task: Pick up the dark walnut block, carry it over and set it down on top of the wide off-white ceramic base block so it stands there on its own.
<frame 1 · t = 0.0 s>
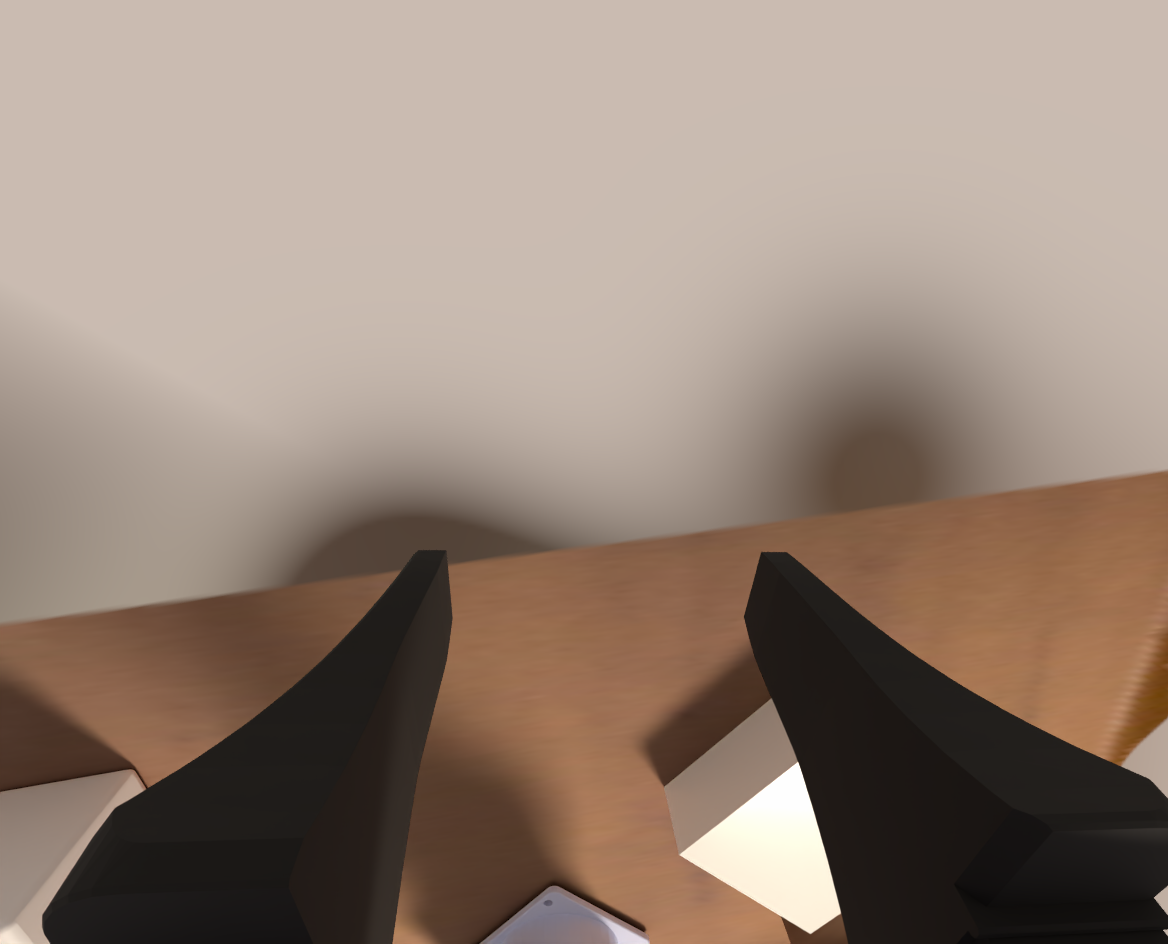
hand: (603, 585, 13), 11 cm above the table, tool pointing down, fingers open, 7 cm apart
walnut block: (831, 912, 35), on the table
medicine bottle: (101, 824, 29), on the table
ceramic base: (790, 769, 31), on the table
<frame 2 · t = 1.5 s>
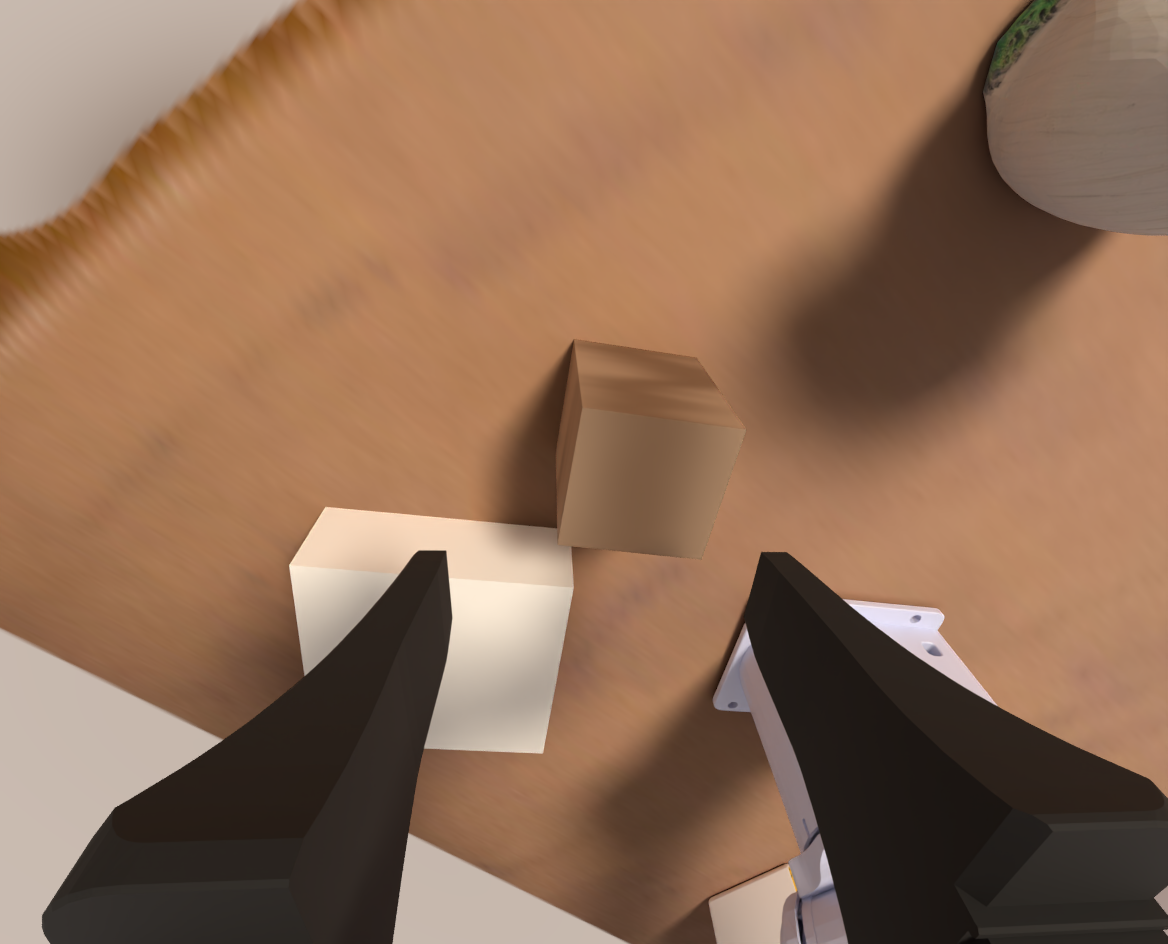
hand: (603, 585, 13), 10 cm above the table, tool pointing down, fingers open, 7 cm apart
walnut block: (623, 405, 21), on the table
medicine bottle: (771, 892, 42), on the table
decorative ornament: (1090, 94, 17), on the table
ceramic base: (448, 602, 26), on the table
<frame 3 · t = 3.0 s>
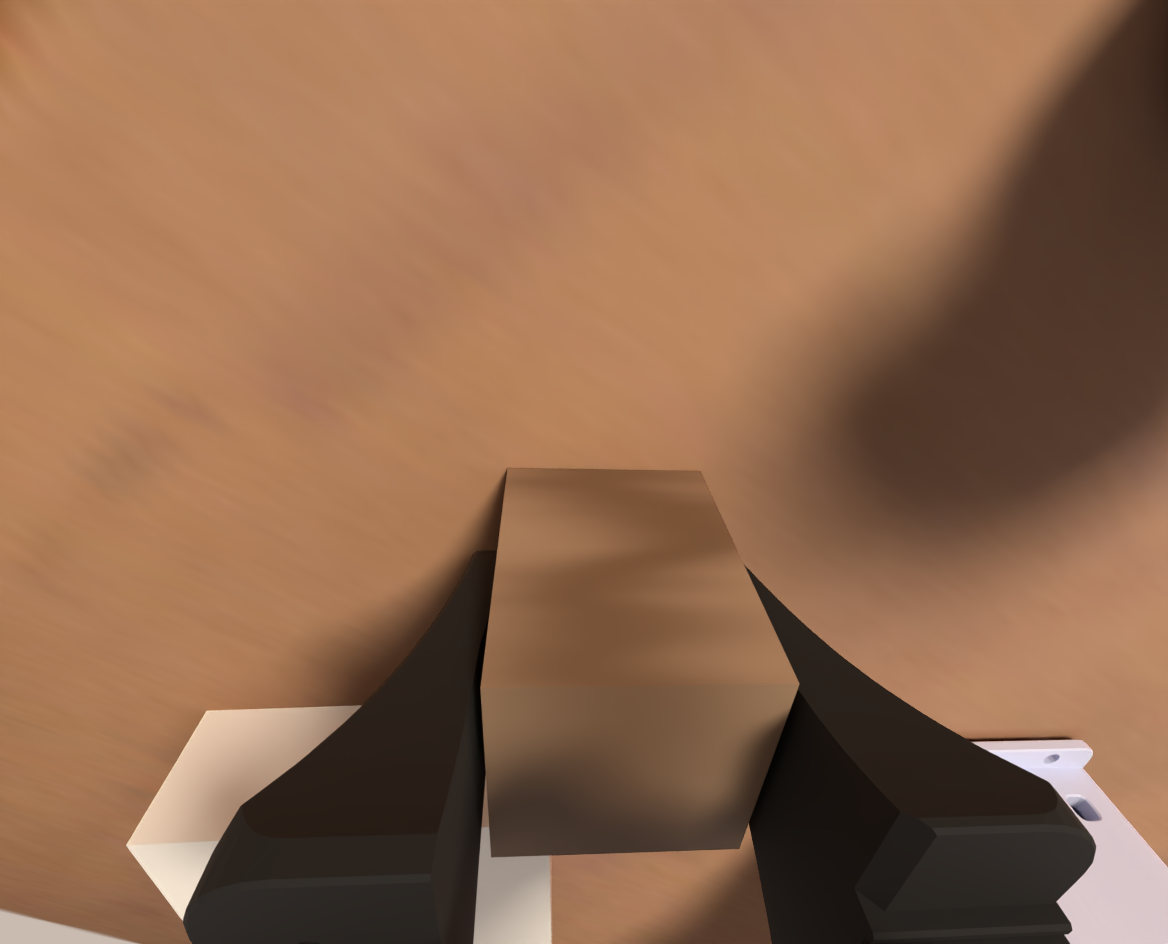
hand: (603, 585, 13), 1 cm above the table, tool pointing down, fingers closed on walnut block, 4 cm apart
walnut block: (598, 546, 14), on the table, touching gripper
ceramic base: (406, 789, 20), on the table
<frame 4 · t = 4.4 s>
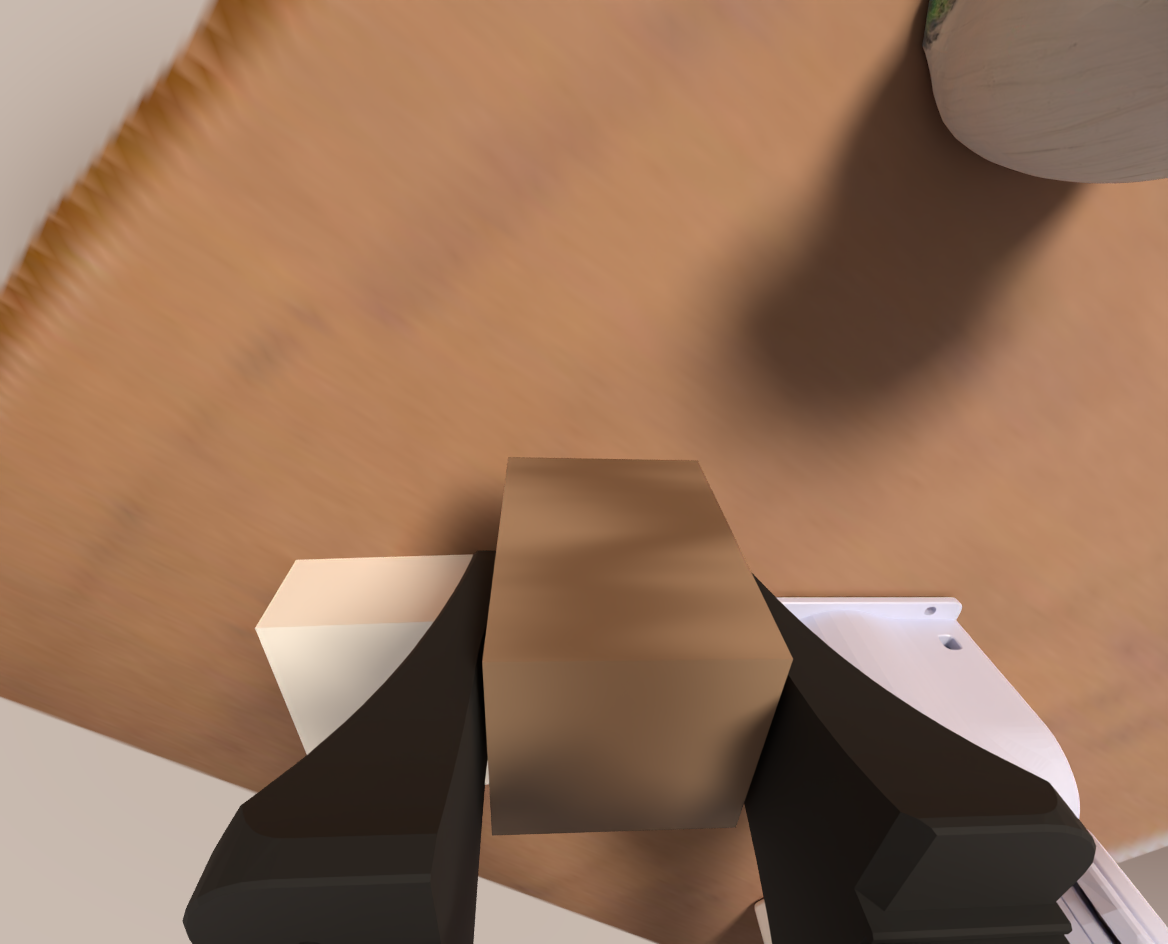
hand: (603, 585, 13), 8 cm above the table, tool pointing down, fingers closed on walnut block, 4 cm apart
walnut block: (597, 536, 14), point 7 cm above the table, touching gripper
medicine bottle: (819, 892, 40), on the table
decorative ornament: (1047, 31, 15), on the table
ceramic base: (439, 637, 26), on the table
when the fingers open (6 cm above the table, at t = 6.0 s): walnut block drops 1 cm, resting on ceramic base.
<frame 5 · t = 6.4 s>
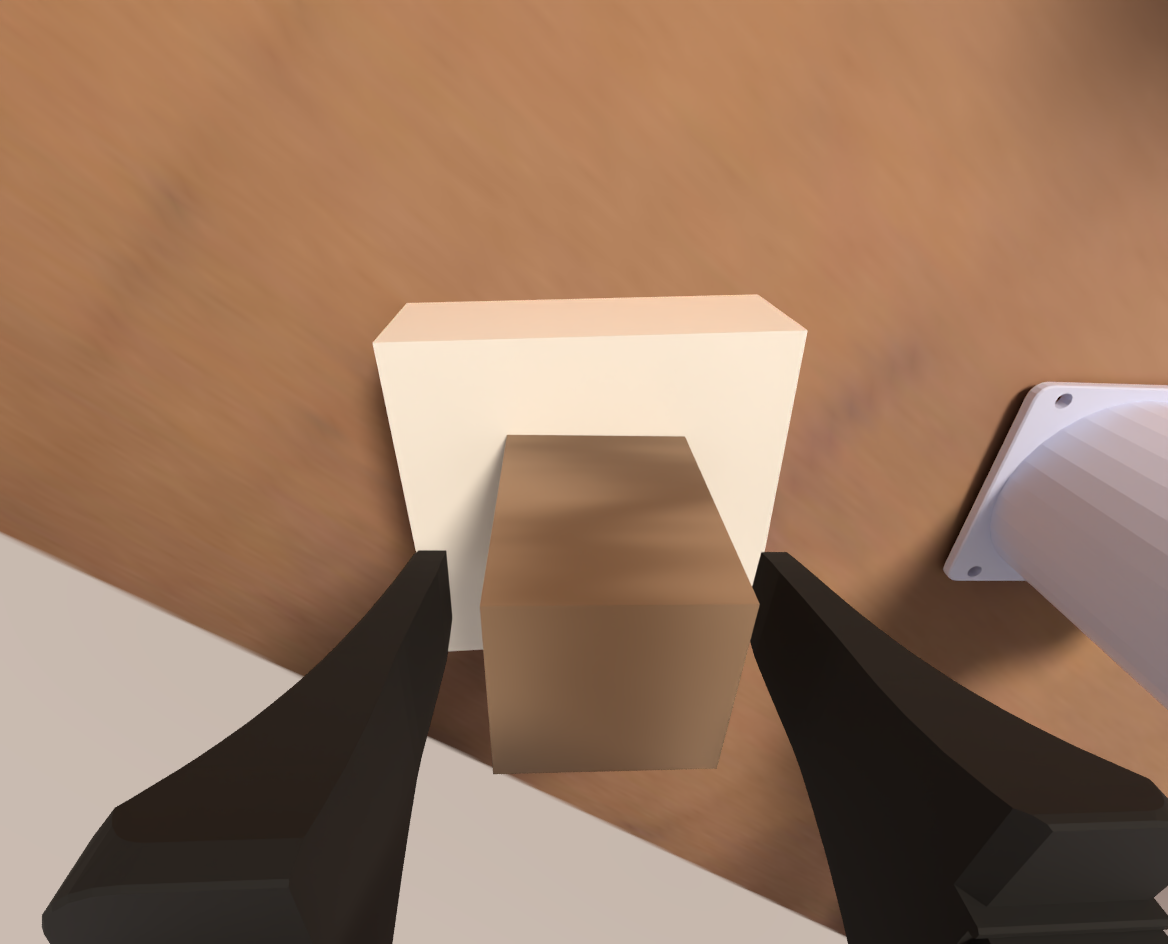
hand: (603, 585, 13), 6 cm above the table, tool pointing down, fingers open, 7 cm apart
walnut block: (593, 509, 15), point 4 cm above the table, touching ceramic base
ceramic base: (585, 447, 19), on the table, touching walnut block
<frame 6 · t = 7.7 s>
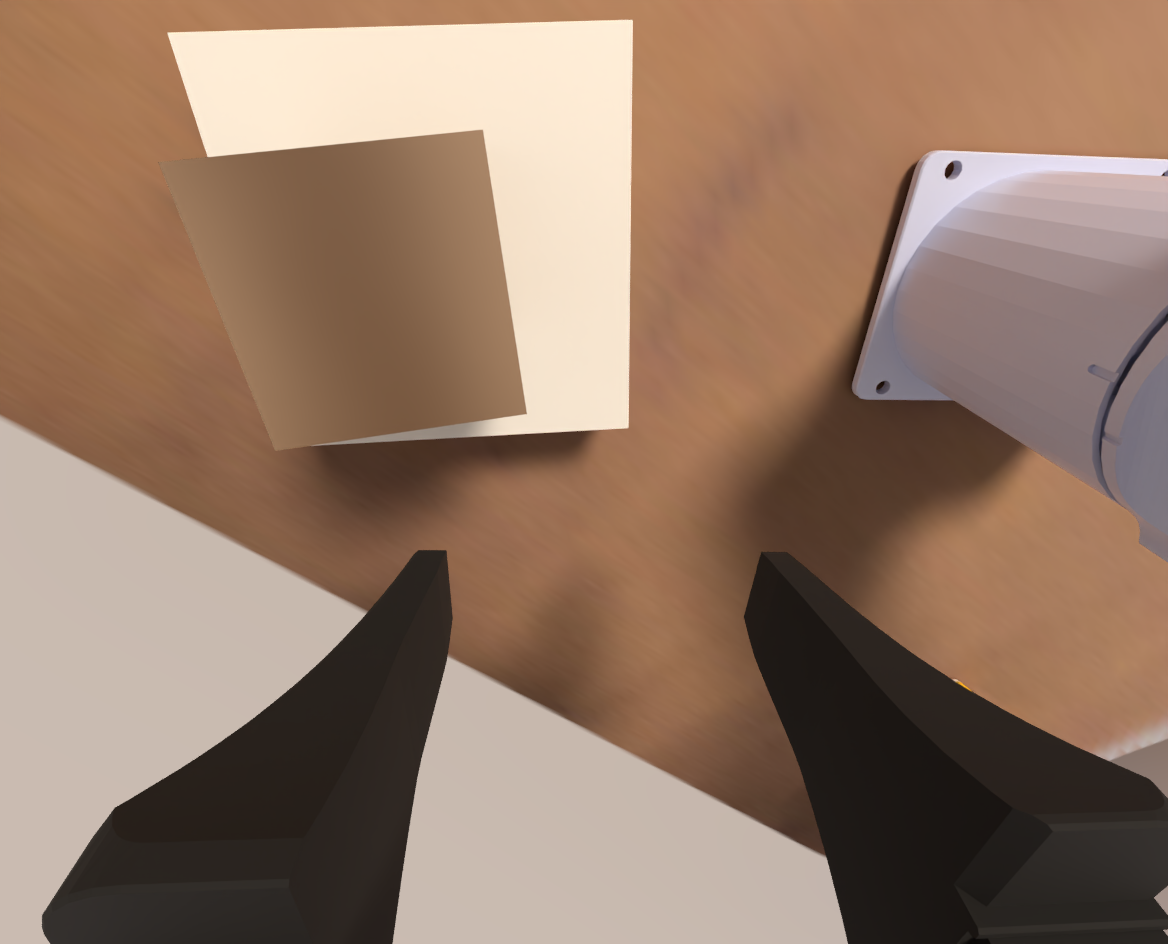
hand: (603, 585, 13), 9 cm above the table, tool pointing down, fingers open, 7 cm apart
walnut block: (412, 257, 14), point 4 cm above the table, tilted 6°, touching ceramic base
ceramic base: (460, 243, 18), on the table, touching walnut block
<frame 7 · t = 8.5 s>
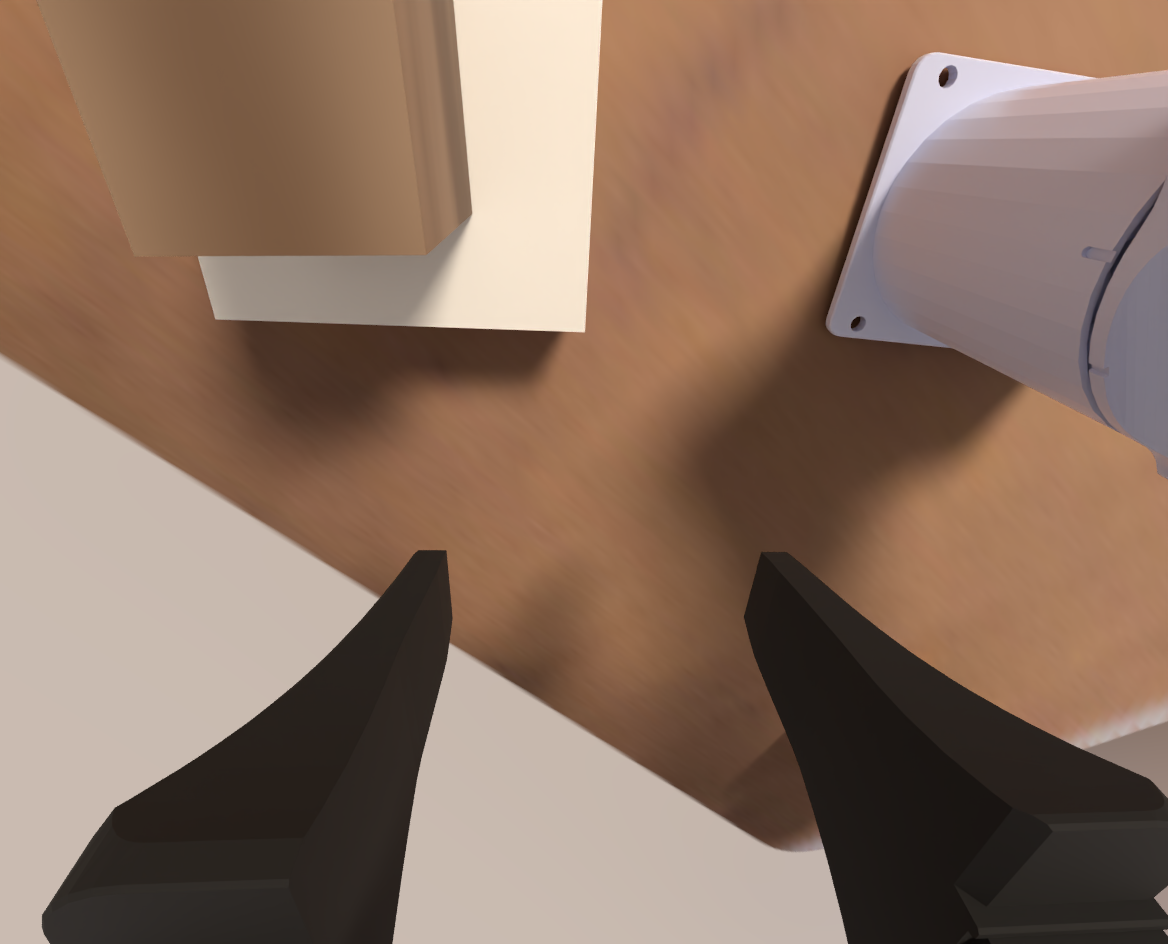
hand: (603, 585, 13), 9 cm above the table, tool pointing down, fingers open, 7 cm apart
walnut block: (364, 106, 13), point 4 cm above the table
ceramic base: (415, 117, 16), on the table
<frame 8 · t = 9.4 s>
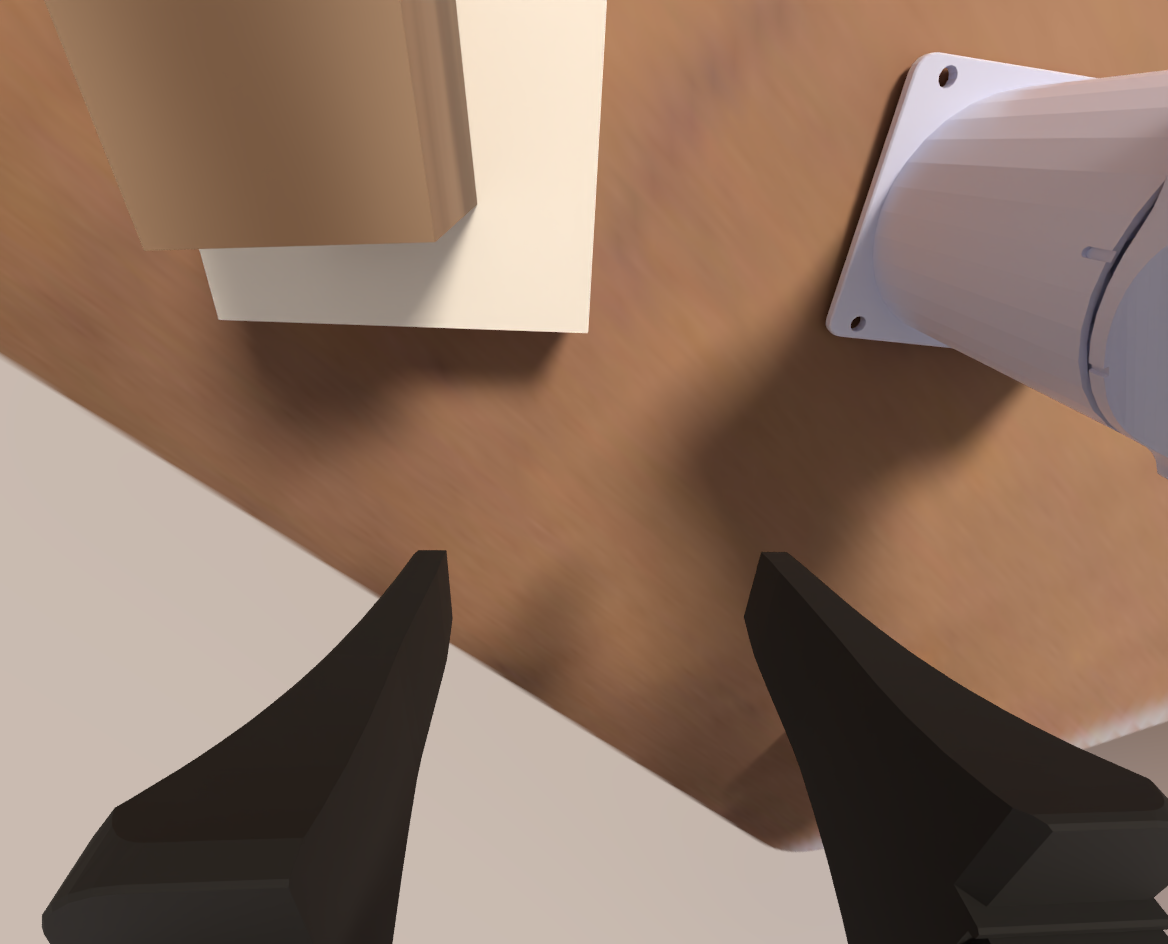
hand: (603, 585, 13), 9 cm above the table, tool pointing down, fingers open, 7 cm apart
walnut block: (366, 98, 13), point 4 cm above the table, touching ceramic base
ceramic base: (419, 118, 16), on the table, touching walnut block
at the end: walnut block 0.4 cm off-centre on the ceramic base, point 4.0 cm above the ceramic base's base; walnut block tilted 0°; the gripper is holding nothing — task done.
